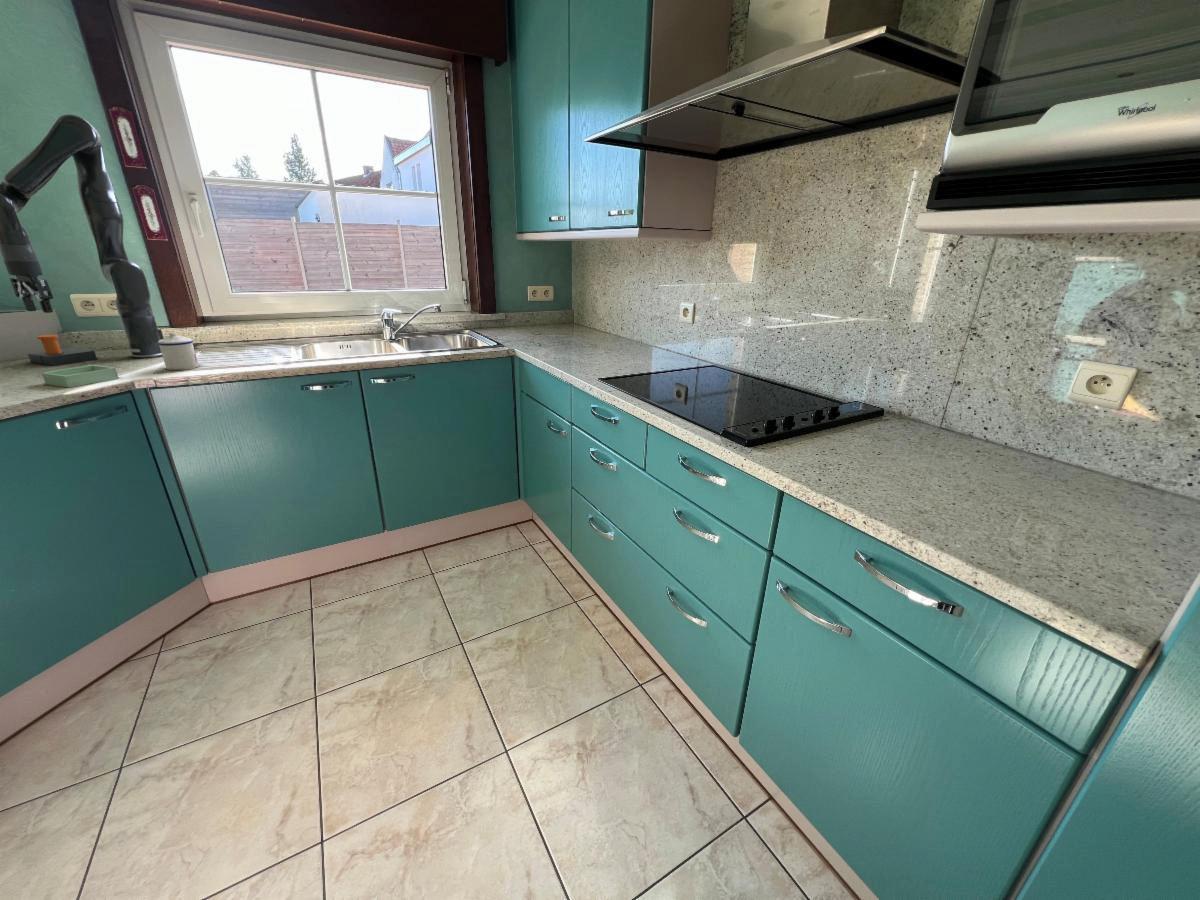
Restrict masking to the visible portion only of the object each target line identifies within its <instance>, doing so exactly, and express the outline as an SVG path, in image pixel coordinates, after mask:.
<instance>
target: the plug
mask: <svg viewBox="0 0 1200 900" xmlns="http://www.w3.org/2000/svg"><path fill="white" fill-rule="evenodd" d="M36 338H37V340H40V341H41V344H42V346H43V349H44V351H46V354H59V353H62V352H61V350H60V349H61V347H60V345H59V341H58V339H59V335H58V334H43V335H38V336H36Z"/></svg>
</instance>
